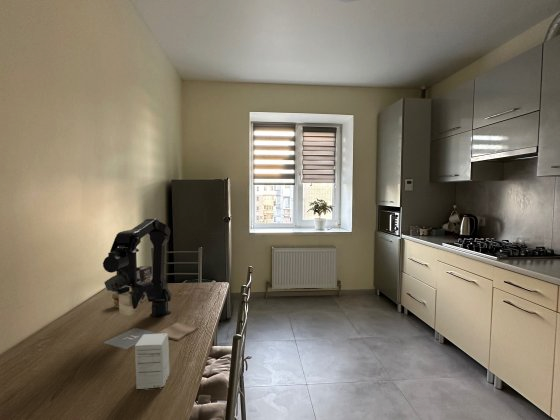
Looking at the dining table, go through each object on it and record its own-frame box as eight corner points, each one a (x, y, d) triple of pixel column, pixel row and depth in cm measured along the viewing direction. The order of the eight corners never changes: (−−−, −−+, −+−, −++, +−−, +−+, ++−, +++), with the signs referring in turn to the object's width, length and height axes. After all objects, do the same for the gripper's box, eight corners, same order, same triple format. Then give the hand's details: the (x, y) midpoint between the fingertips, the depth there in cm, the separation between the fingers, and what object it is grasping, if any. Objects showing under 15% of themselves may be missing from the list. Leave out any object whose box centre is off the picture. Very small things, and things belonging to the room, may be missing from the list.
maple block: (130, 308, 123) (130, 290, 123) (140, 310, 121) (139, 292, 120) (119, 313, 118) (118, 294, 118) (128, 315, 116) (128, 296, 116)
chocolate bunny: (121, 303, 159) (121, 283, 158) (132, 305, 155) (131, 285, 154) (111, 306, 154) (110, 286, 153) (122, 309, 150) (121, 288, 149)
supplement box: (144, 375, 95) (143, 333, 94) (170, 374, 96) (168, 332, 95) (135, 390, 88) (133, 345, 87) (163, 389, 88) (161, 344, 88)
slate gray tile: (135, 328, 129) (135, 327, 129) (157, 334, 124) (157, 333, 124) (102, 343, 116) (102, 342, 116) (125, 350, 111) (125, 349, 111)
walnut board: (177, 324, 132) (177, 322, 132) (198, 329, 127) (198, 327, 127) (156, 335, 122) (156, 333, 122) (178, 340, 117) (178, 338, 117)
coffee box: (142, 302, 160) (141, 270, 159) (131, 301, 161) (130, 269, 160) (153, 296, 169) (152, 265, 168) (142, 295, 170) (141, 265, 169)
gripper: (90, 268, 115) (92, 311, 116) (127, 273, 107) (128, 319, 108) (118, 262, 126) (119, 301, 126) (153, 266, 117) (154, 308, 118)
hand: (129, 307), depth 119 cm, fingers closed on maple block, 5 cm apart
